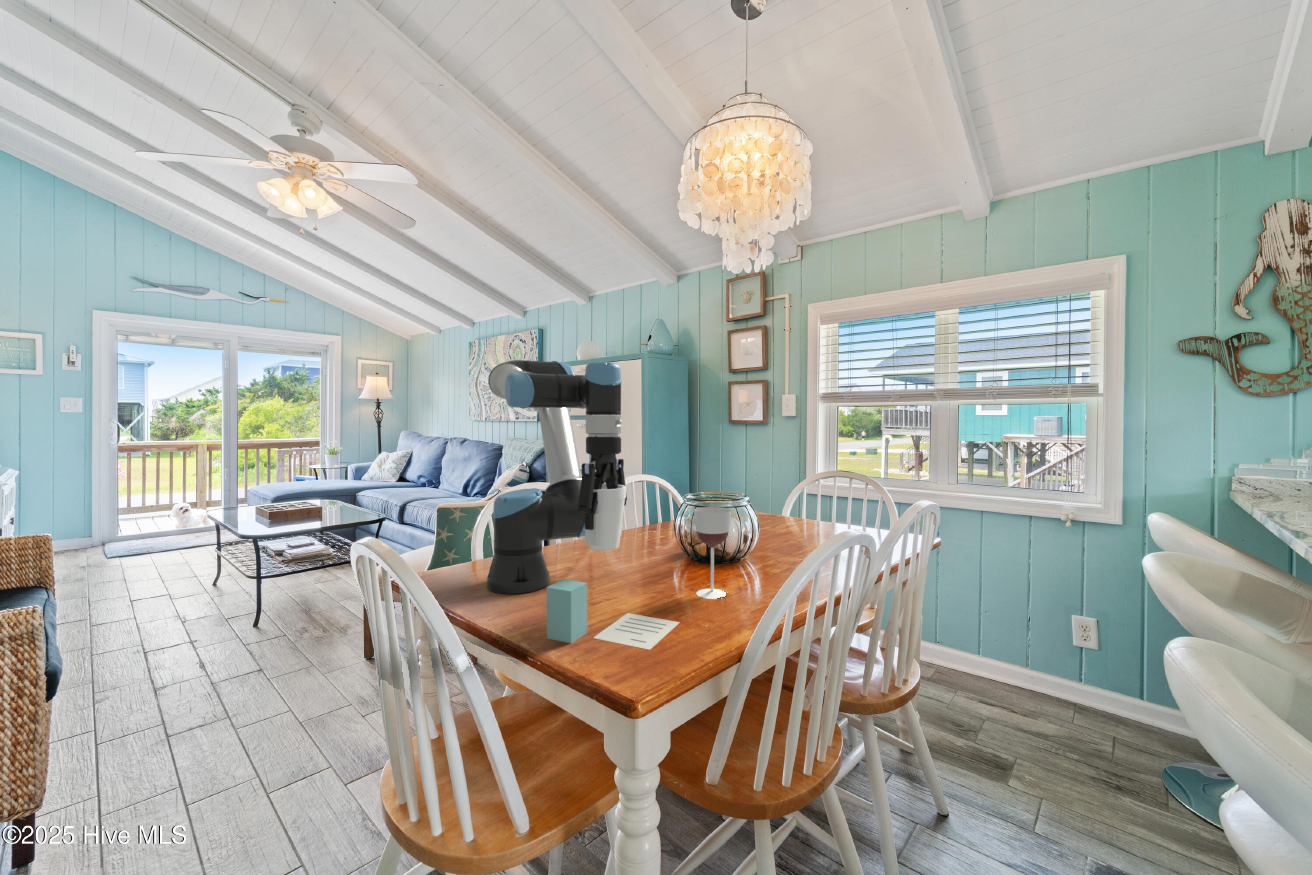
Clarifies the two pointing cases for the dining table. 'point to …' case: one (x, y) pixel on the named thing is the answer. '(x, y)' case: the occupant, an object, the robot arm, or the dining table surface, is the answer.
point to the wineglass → (712, 538)
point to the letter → (637, 631)
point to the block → (566, 610)
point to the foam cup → (609, 516)
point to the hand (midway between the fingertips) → (604, 539)
